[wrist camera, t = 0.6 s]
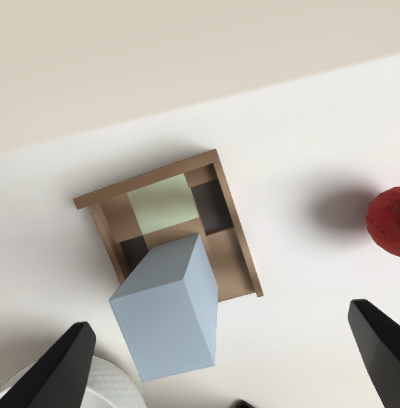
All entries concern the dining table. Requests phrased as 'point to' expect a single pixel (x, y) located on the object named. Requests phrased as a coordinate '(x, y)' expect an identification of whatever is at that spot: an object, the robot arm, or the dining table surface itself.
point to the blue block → (169, 310)
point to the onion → (385, 220)
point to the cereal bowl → (100, 387)
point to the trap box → (176, 220)
